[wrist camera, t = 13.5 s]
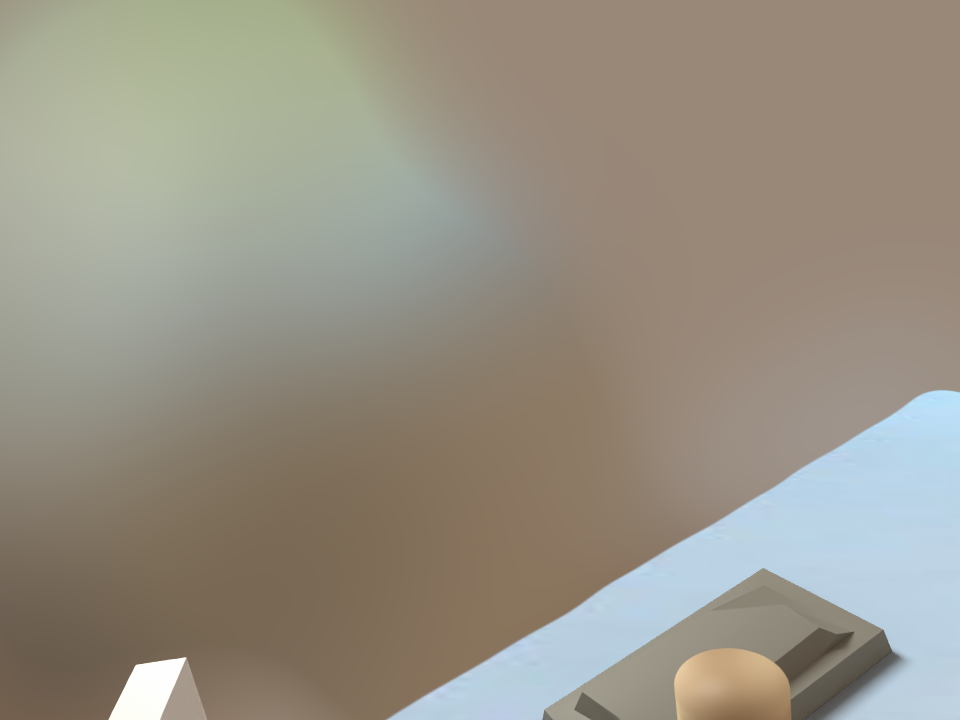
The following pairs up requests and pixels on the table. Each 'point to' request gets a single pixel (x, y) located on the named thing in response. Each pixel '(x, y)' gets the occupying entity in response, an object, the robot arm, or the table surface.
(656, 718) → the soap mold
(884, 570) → the table surface
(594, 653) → the table surface
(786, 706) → the oak leg
